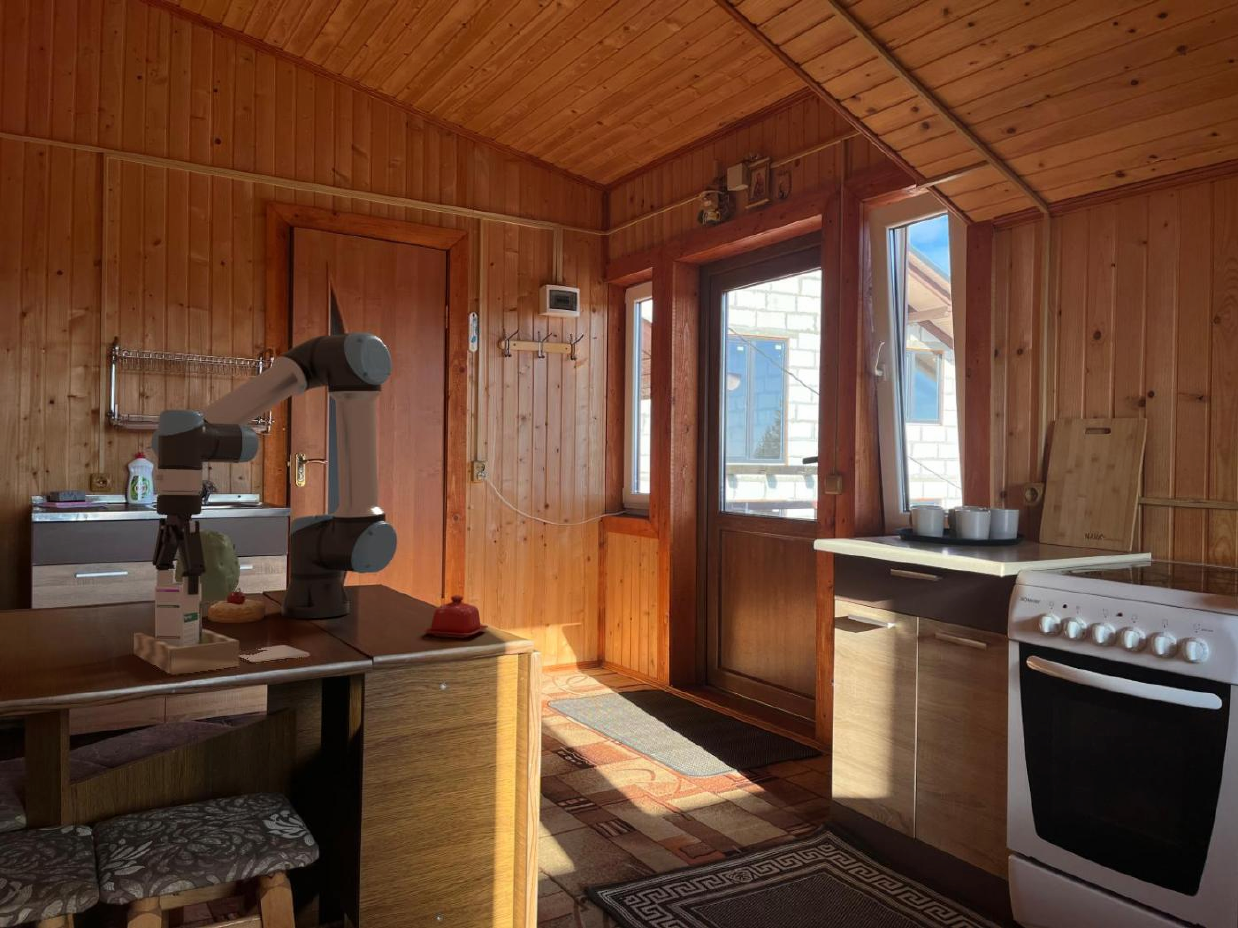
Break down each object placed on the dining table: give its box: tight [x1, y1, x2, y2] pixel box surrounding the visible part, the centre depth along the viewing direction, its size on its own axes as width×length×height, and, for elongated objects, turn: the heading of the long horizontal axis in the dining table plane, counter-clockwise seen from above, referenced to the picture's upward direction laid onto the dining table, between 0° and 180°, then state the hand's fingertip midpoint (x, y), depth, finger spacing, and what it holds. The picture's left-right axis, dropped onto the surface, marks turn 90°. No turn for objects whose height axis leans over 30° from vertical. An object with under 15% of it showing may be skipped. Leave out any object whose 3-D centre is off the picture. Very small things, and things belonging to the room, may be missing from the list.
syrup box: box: [154, 581, 203, 647], centre depth 174 cm, size 6×6×14 cm
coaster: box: [239, 644, 311, 662], centre depth 179 cm, size 11×11×1 cm
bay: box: [133, 627, 240, 675], centre depth 171 cm, size 20×11×5 cm, turn 44°
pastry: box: [207, 587, 266, 624], centre depth 212 cm, size 12×12×9 cm
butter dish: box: [423, 594, 489, 639], centre depth 205 cm, size 12×12×8 cm
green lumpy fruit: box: [174, 528, 241, 601], centre depth 239 cm, size 16×19×20 cm
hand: (177, 608), depth 174 cm, fingers open, 13 cm apart
